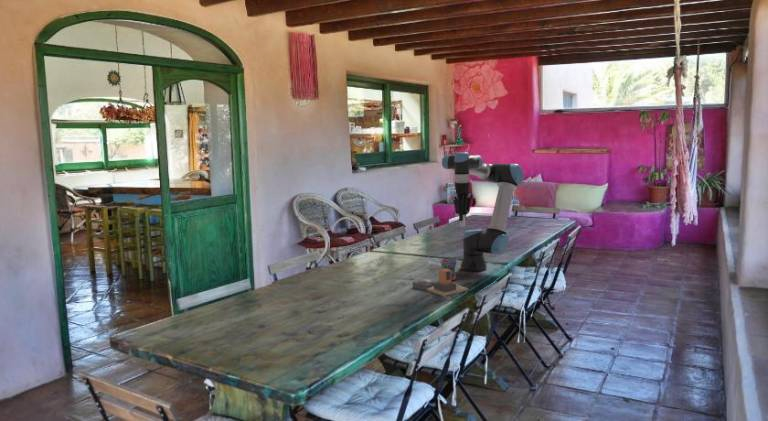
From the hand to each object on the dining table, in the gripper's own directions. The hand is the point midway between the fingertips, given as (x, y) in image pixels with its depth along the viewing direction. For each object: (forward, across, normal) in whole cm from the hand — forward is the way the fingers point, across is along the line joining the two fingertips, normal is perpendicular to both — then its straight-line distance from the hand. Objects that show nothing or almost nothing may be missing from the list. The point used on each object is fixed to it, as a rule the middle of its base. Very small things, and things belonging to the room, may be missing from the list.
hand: (462, 226), depth 301 cm
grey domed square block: (+30, +20, -7) cm, 37 cm away
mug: (+31, 0, -11) cm, 33 cm away
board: (+30, +16, +4) cm, 35 cm away
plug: (+29, +18, +6) cm, 35 cm away
